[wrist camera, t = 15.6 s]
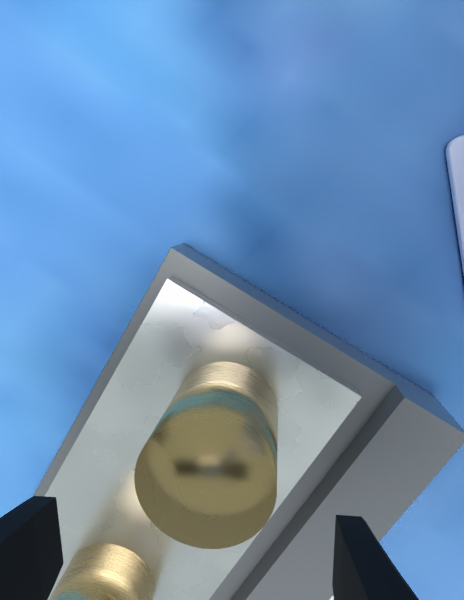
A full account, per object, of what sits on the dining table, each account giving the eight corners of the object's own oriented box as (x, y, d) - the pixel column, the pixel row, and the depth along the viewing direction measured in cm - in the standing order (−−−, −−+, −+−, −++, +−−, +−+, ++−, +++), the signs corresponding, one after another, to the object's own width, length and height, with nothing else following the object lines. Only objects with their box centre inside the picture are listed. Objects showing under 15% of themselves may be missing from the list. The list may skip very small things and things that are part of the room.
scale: (441, 400, 20) (478, 441, 16) (229, 662, 24) (221, 737, 21) (183, 243, 19) (163, 250, 16) (17, 538, 24) (-27, 594, 20)
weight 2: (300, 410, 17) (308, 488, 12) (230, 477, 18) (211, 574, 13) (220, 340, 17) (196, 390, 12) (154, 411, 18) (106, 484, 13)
